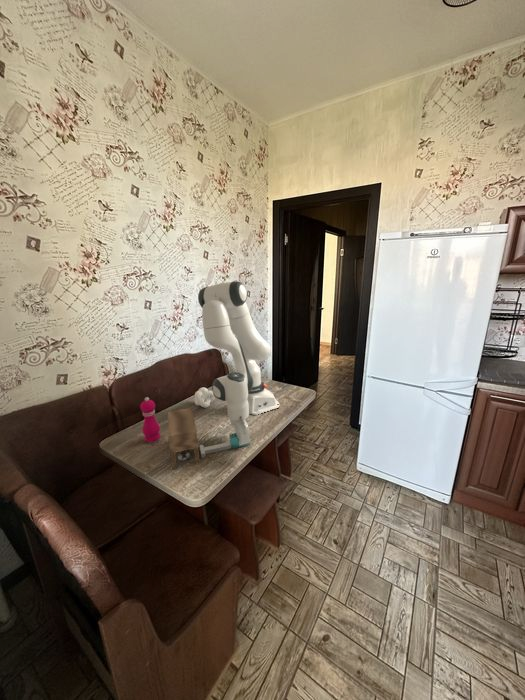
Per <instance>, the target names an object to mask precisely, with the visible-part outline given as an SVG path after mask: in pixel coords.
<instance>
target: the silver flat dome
mask: <svg viewBox="0 0 525 700" xmlns="http://www.w3.org/2000/svg"><path fill="white" fill-rule="evenodd" d="M177 458H178V461H180V462H184V461H187V460H189V459H190V452H189V451H182V452H179V454H178V456H177Z"/></svg>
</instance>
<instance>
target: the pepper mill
mask: <svg viewBox="0 0 525 700" xmlns="http://www.w3.org/2000/svg"><path fill="white" fill-rule="evenodd" d="M155 409H156V403H155V402H154V400H152V399H150V398H149V397H148V396H147V397H144V400H143V401H142V402H141V403H140V410H141V412H142V416H143V417H144V421H143V426H142V434H143V435H144V441H147V443H153V442H156V441H158V440H159V439H160V437H161V434H160V431H161V426H160V424H159V423H158V422H157V420H156V418H155V417H156V416H155V413H156V410H155Z"/></svg>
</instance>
